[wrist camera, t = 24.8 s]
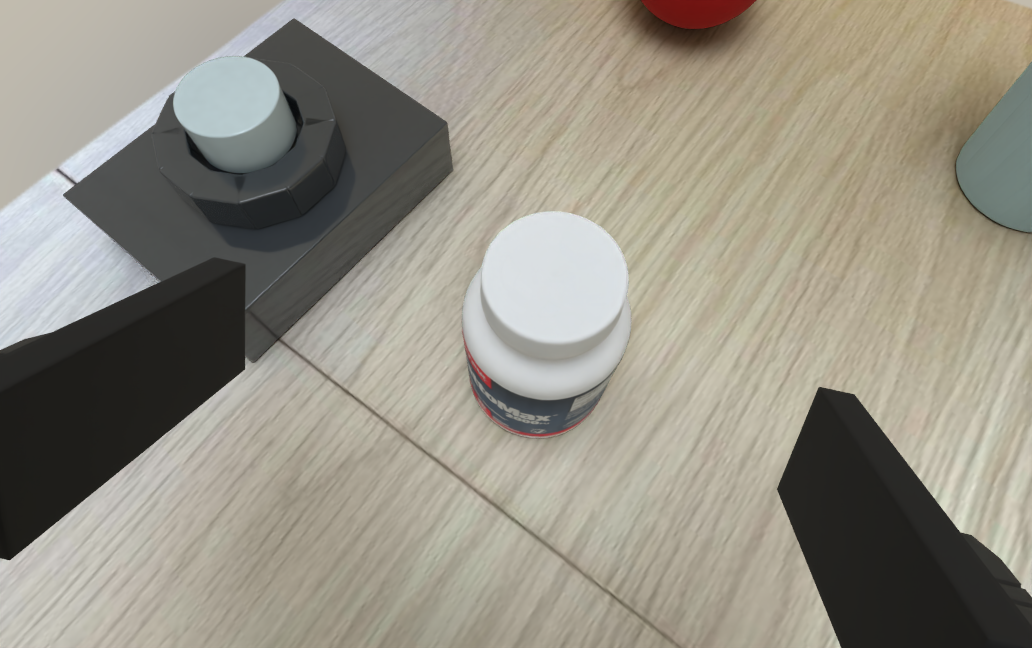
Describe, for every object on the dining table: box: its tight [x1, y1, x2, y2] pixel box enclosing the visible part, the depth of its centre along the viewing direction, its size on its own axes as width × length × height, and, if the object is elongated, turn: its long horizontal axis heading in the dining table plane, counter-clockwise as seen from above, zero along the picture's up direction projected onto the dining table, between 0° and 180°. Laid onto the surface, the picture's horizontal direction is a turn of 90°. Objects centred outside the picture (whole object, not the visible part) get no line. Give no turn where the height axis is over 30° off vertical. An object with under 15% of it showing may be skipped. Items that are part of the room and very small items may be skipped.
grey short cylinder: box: [173, 56, 297, 173], centre depth 23 cm, size 4×4×2 cm
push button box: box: [63, 19, 453, 363], centre depth 25 cm, size 12×9×5 cm
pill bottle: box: [462, 211, 631, 438], centre depth 21 cm, size 5×5×9 cm
